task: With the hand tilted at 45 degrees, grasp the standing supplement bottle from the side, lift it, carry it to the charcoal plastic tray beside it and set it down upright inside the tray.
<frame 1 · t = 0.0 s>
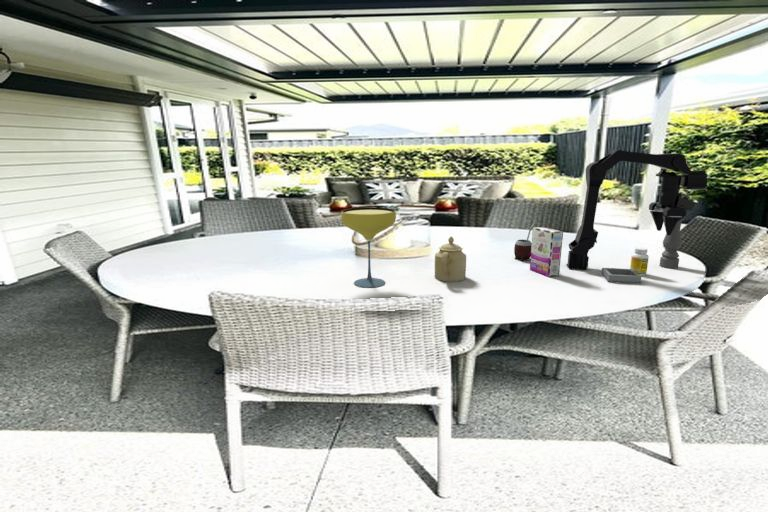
hand: (663, 232, 160), 15 cm above the table, tool pointing down, fingers open, 9 cm apart
mate gourd: (523, 259, 184), on the table
sugar bowl: (451, 279, 156), on the table
cocktail glass: (369, 283, 152), on the table
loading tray: (620, 278, 155), on the table
candy bar box: (544, 273, 163), on the table
supplement bottle: (637, 274, 161), on the table
candle holder: (668, 267, 171), on the table
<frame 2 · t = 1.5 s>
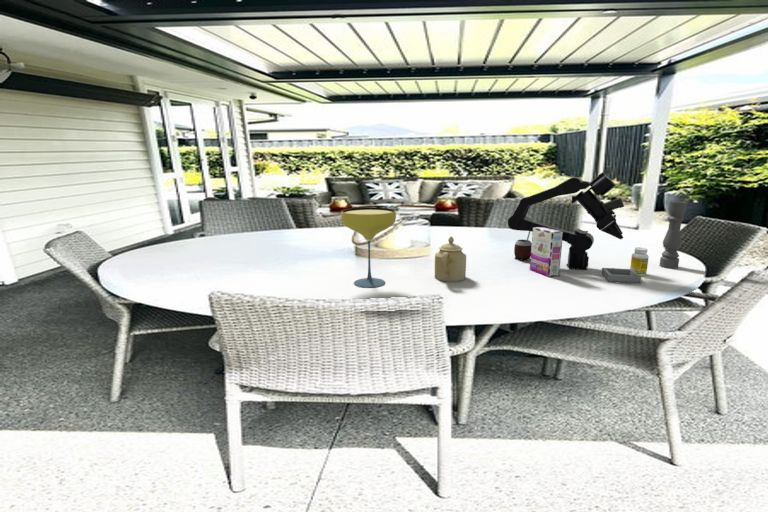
hand: (621, 236, 161), 13 cm above the table, tool tilted 45°, fingers open, 9 cm apart
nothing on the table moved.
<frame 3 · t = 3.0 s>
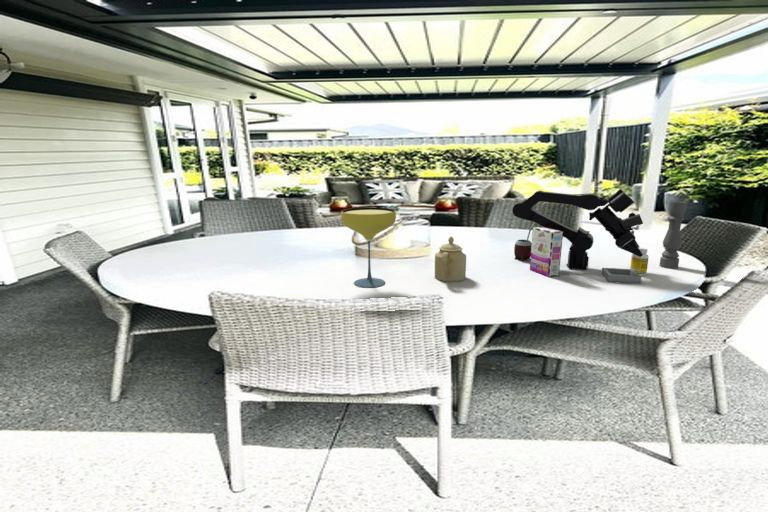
hand: (640, 253, 159), 8 cm above the table, tool tilted 45°, fingers open, 9 cm apart
nothing on the table moved.
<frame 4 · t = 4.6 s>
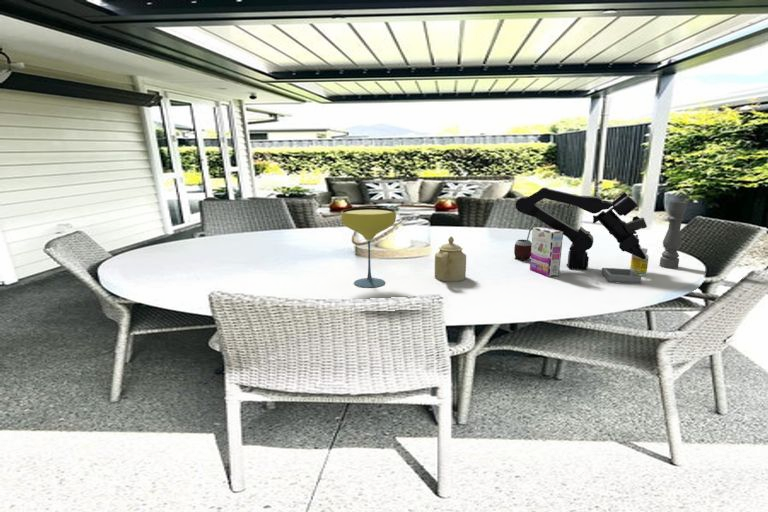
hand: (644, 256, 159), 7 cm above the table, tool tilted 45°, fingers closed on supplement bottle, 5 cm apart
supplement bottle: (637, 274, 161), on the table, touching gripper
everything else where it was.
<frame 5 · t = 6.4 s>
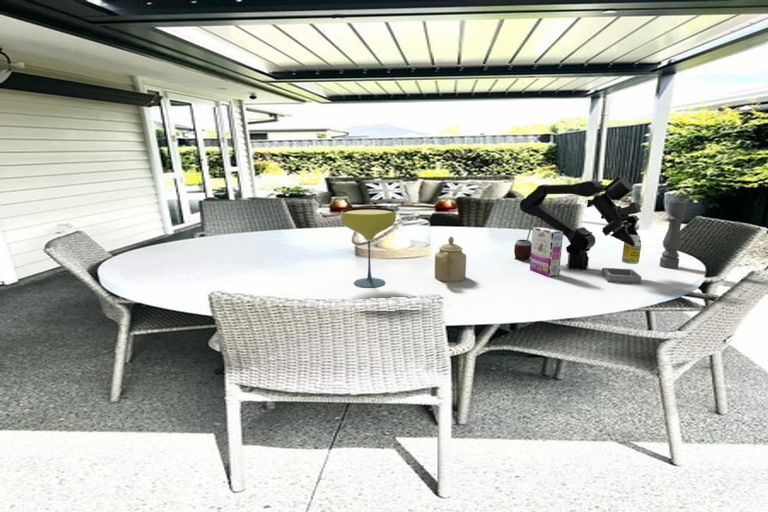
hand: (636, 244, 153), 12 cm above the table, tool tilted 45°, fingers closed on supplement bottle, 5 cm apart
supplement bottle: (629, 263, 155), point 5 cm above the table, touching gripper
everything else where it was.
when the fingers open (8 cm above the table, at t = 8.5 s): supplement bottle stays where it is, resting on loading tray.
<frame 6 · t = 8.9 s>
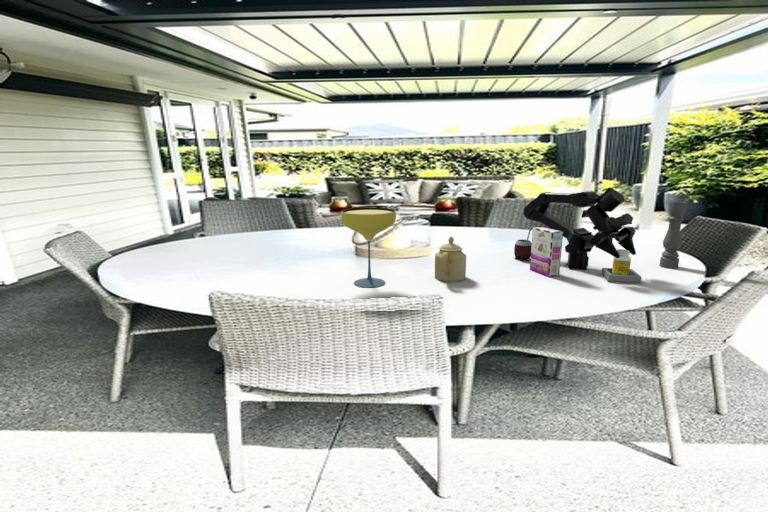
hand: (626, 256, 152), 9 cm above the table, tool tilted 45°, fingers open, 9 cm apart
supplement bottle: (619, 277, 155), resting on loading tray
everything else where it was.
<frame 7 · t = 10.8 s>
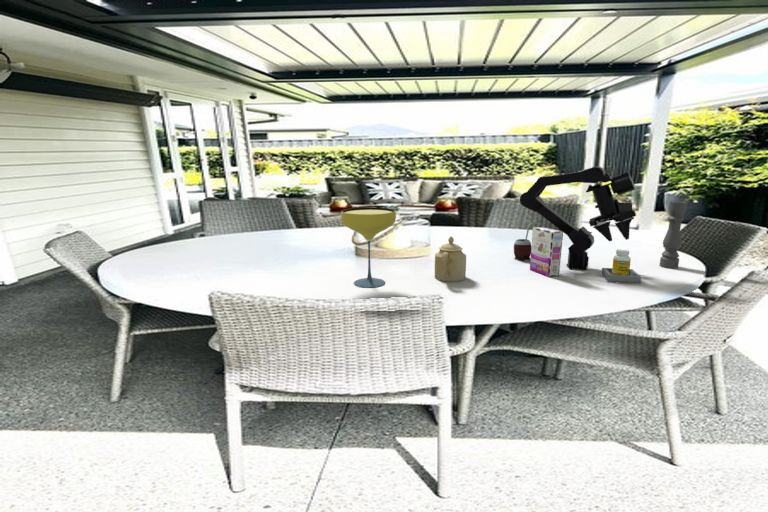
hand: (618, 240, 160), 12 cm above the table, tool tilted 25°, fingers open, 9 cm apart
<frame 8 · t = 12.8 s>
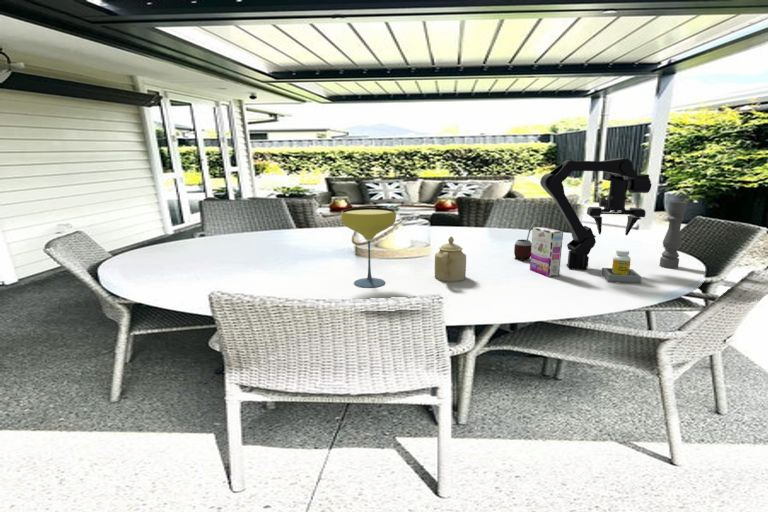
hand: (612, 234, 166), 13 cm above the table, tool pointing down, fingers open, 9 cm apart
nothing on the table moved.
at the end: supplement bottle 0.1 cm off-centre on the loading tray, point 0.4 cm above the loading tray's base; supplement bottle tilted 0°; the gripper is holding nothing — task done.
